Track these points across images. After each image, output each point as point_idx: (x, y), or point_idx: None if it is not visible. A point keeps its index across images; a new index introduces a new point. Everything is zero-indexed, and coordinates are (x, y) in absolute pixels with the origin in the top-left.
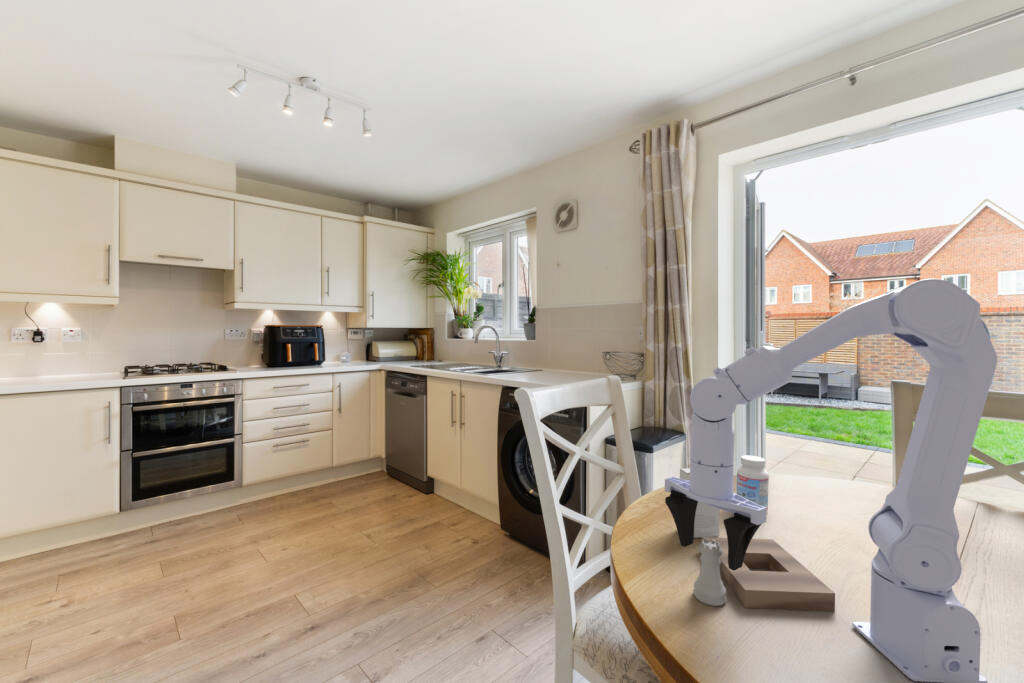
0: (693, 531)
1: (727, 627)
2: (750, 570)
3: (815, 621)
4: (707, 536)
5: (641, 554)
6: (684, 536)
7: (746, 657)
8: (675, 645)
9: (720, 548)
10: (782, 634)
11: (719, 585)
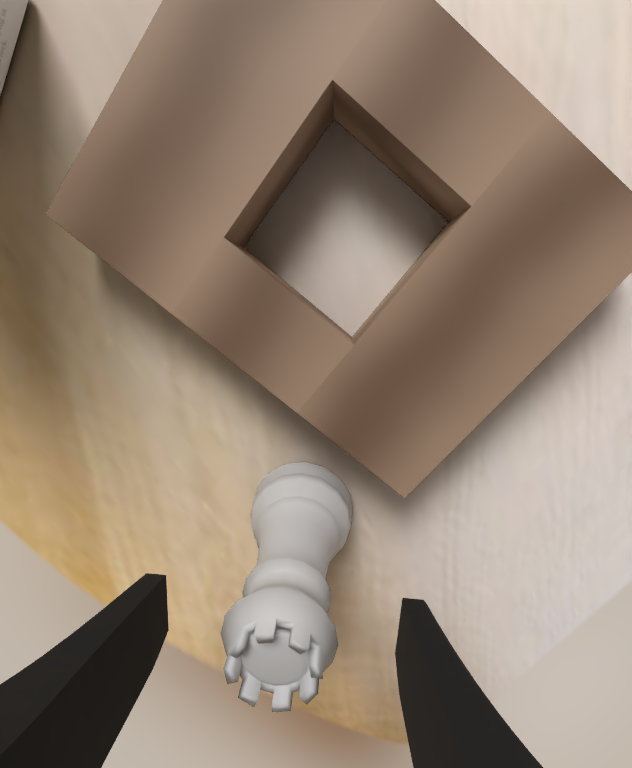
0: (130, 618)
1: (404, 582)
2: (352, 344)
3: (573, 363)
4: (8, 61)
5: (12, 445)
6: (140, 678)
7: (484, 645)
8: (359, 714)
9: (317, 634)
10: (518, 504)
11: (336, 544)
